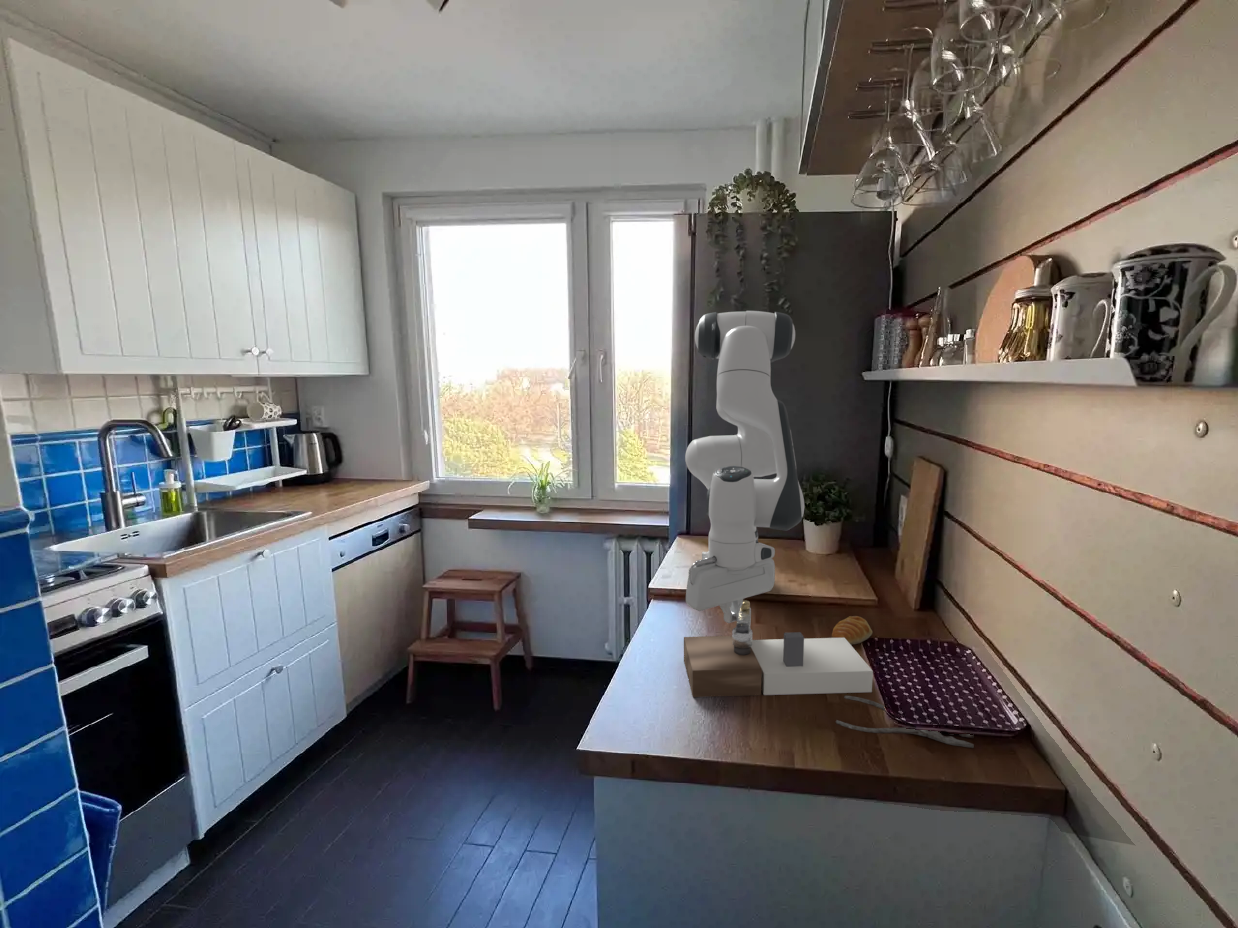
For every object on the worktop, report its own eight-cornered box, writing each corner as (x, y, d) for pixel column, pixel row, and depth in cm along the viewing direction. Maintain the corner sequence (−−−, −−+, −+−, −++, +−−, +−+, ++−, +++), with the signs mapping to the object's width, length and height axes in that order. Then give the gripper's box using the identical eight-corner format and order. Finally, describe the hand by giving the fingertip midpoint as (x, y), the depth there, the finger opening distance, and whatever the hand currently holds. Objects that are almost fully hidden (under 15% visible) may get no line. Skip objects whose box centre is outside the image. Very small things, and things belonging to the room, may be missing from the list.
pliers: (834, 692, 106) (963, 710, 100) (834, 697, 106) (963, 715, 100) (835, 724, 97) (978, 746, 90) (835, 729, 97) (977, 751, 91)
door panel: (747, 659, 119) (748, 613, 117) (843, 656, 119) (845, 610, 118) (763, 694, 106) (765, 644, 105) (871, 692, 106) (874, 641, 105)
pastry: (854, 651, 122) (854, 633, 121) (822, 641, 126) (823, 624, 126) (874, 636, 128) (874, 619, 127) (843, 627, 133) (844, 610, 132)
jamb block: (683, 660, 119) (683, 631, 118) (744, 659, 119) (745, 629, 118) (692, 696, 106) (692, 663, 105) (761, 695, 106) (761, 662, 105)
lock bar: (751, 649, 109) (752, 628, 109) (731, 647, 110) (731, 626, 110) (753, 619, 122) (754, 600, 121) (735, 618, 122) (735, 599, 122)
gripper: (700, 566, 108) (700, 640, 110) (781, 547, 119) (779, 614, 121) (678, 557, 113) (678, 628, 115) (757, 540, 124) (756, 604, 126)
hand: (730, 621), depth 118 cm, fingers closed
